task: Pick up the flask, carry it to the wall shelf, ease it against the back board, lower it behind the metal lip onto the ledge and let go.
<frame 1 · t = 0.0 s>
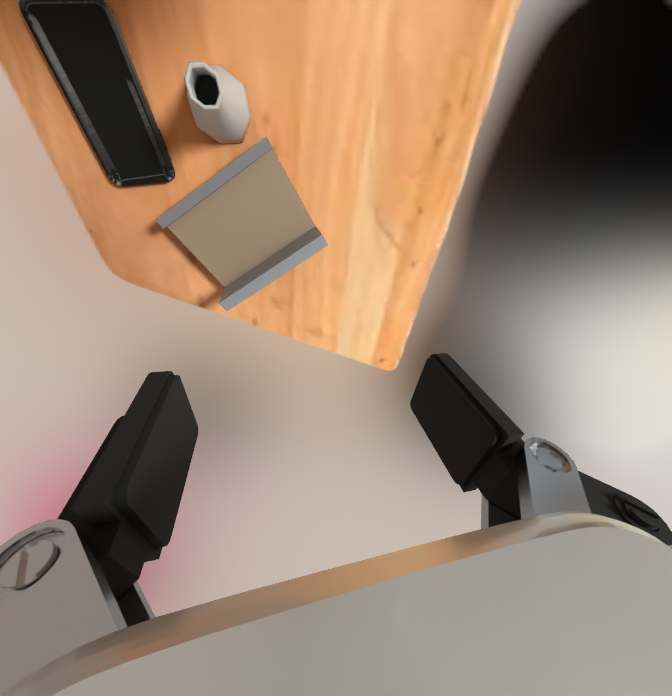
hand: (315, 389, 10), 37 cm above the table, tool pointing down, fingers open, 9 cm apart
flask: (220, 107, 31), on the table
wall shelf: (243, 220, 38), on the table
phone: (115, 106, 29), on the table
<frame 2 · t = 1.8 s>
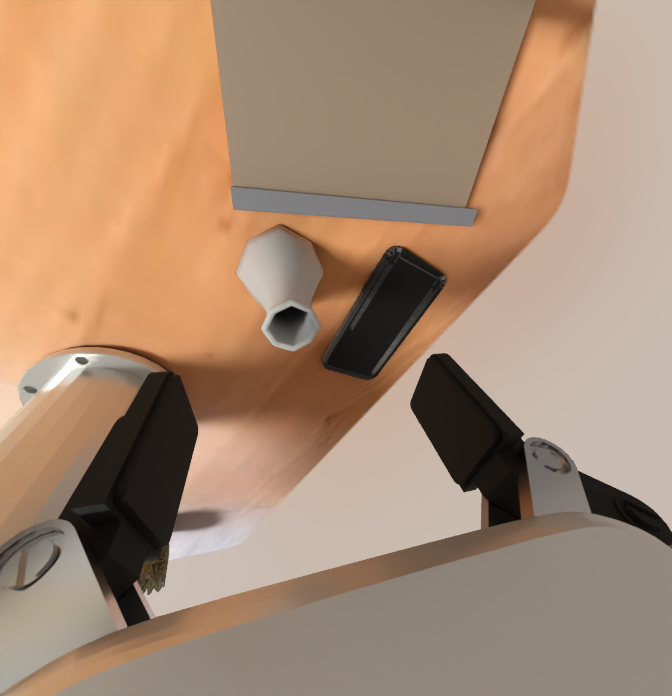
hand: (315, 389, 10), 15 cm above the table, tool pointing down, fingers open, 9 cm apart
flask: (281, 270, 22), on the table
wall shelf: (364, 114, 17), on the table
phone: (376, 319, 28), on the table
cup: (153, 524, 40), on the table
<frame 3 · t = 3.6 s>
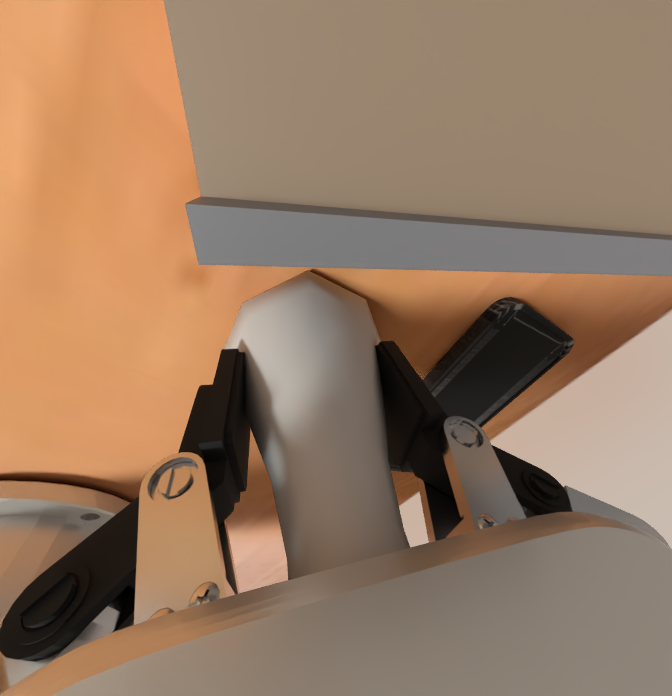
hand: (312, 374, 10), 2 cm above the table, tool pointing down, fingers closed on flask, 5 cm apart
flask: (306, 344, 12), on the table, touching gripper
wall shelf: (528, 20, 7), on the table
phone: (446, 396, 18), on the table
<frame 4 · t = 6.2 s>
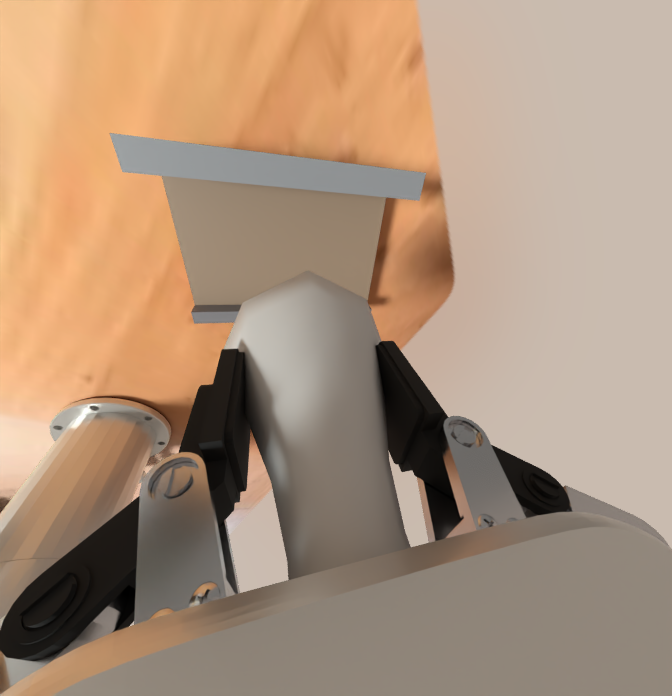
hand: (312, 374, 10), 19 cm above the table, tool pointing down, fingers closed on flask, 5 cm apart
flask: (306, 344, 12), point 17 cm above the table, touching gripper
wall shelf: (285, 252, 25), on the table
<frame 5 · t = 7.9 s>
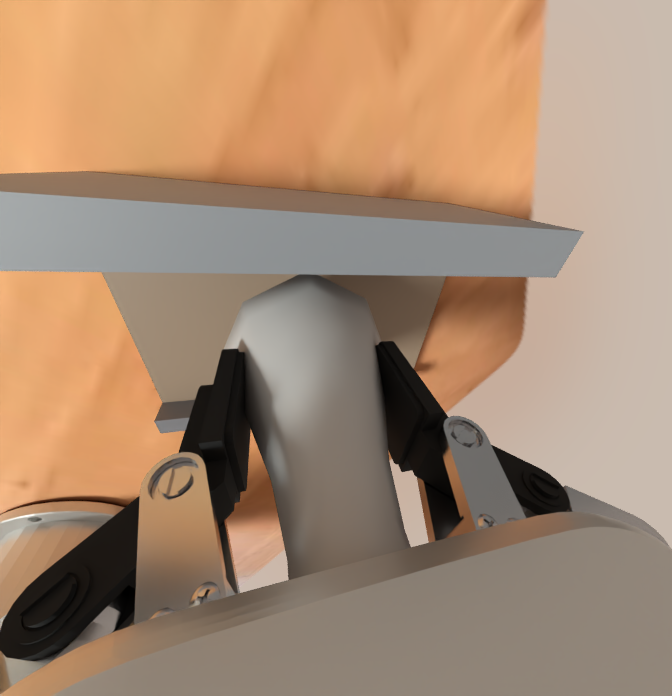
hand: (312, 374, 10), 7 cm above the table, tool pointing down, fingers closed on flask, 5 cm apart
flask: (306, 344, 12), point 5 cm above the table, touching gripper
wall shelf: (297, 319, 17), on the table
when the fingers open (5 cm above the table, at t = 9.1 s): flask stays where it is, resting on wall shelf.
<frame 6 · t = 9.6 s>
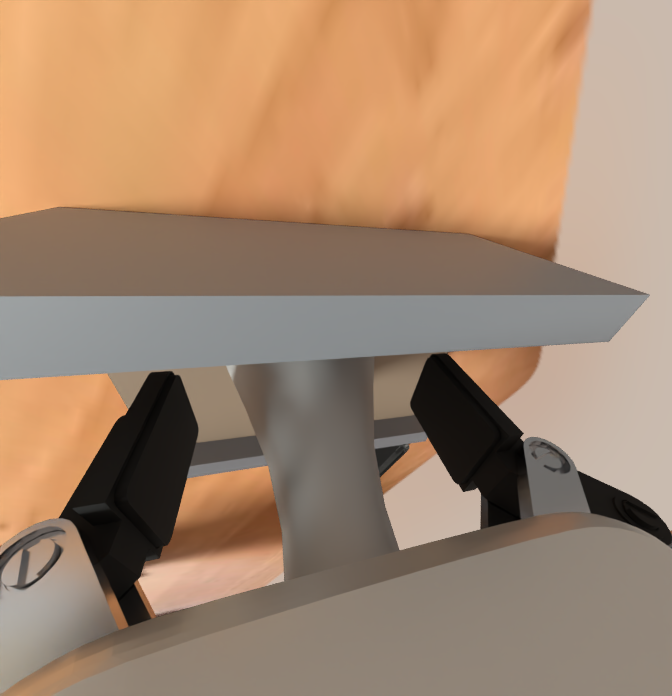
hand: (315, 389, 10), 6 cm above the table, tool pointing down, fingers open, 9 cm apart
flask: (302, 344, 13), point 2 cm above the table, touching wall shelf
wall shelf: (300, 355, 16), on the table
phone: (339, 471, 27), on the table
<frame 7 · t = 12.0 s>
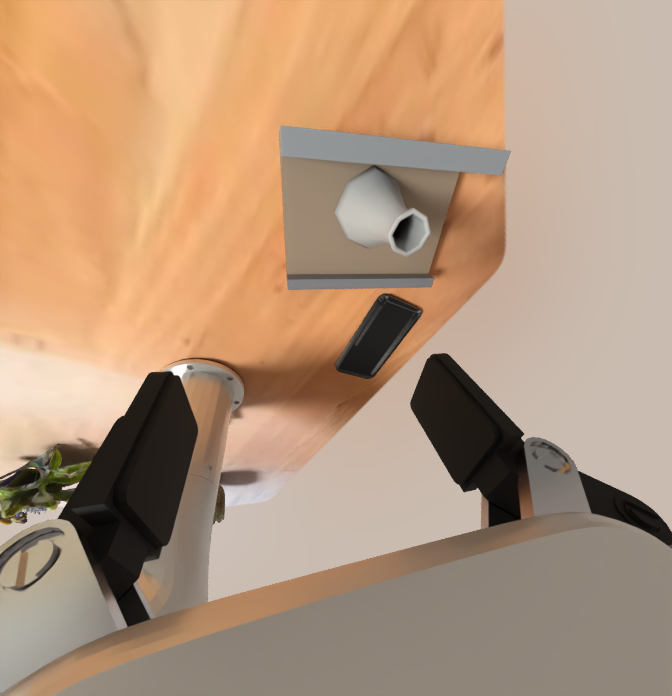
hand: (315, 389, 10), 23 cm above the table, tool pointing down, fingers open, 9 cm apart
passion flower: (57, 454, 42), on the table
flask: (369, 209, 26), point 2 cm above the table, touching wall shelf
wall shelf: (362, 227, 29), on the table
phone: (373, 337, 40), on the table
cup: (211, 478, 56), on the table
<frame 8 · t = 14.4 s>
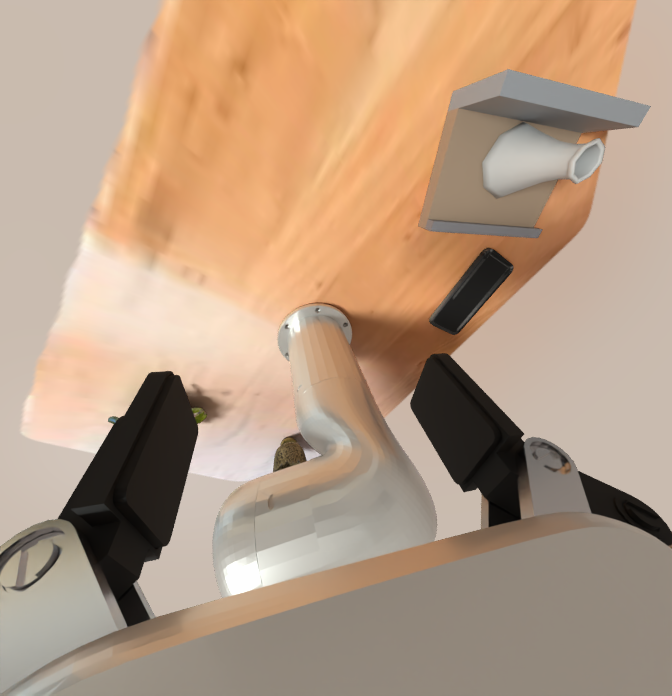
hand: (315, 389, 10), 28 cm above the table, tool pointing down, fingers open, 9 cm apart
flask: (505, 163, 31), point 2 cm above the table, touching wall shelf
wall shelf: (489, 182, 34), on the table
phone: (466, 293, 45), on the table
cup: (288, 439, 58), on the table
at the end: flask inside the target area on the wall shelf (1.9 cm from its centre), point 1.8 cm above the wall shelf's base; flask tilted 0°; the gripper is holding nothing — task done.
